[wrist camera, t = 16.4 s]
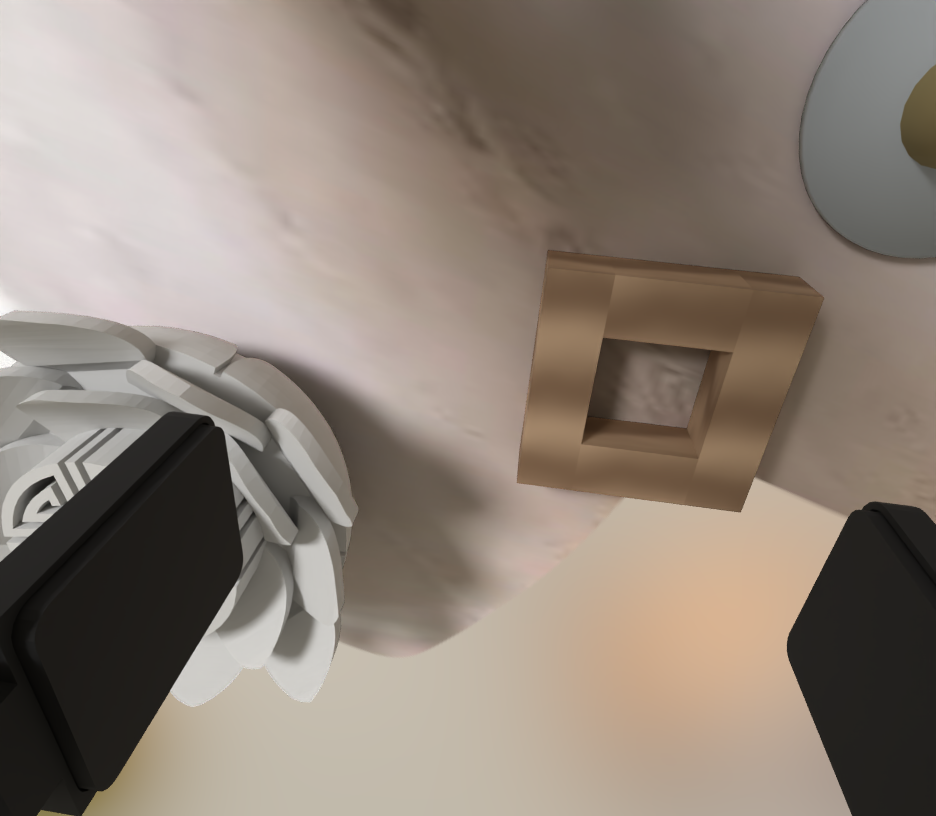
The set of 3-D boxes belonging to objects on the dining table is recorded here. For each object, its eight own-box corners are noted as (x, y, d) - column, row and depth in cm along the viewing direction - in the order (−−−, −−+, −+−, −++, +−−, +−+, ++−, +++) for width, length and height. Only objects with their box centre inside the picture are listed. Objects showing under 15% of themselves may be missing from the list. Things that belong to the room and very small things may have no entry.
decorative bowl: (371, 225, 40) (284, 301, 27) (431, 561, 54) (394, 716, 41) (-22, 259, 44) (-259, 337, 31) (129, 560, 59) (10, 699, 46)
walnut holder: (548, 250, 39) (547, 267, 36) (799, 277, 38) (824, 297, 35) (519, 452, 47) (516, 483, 44) (726, 479, 46) (740, 512, 43)
